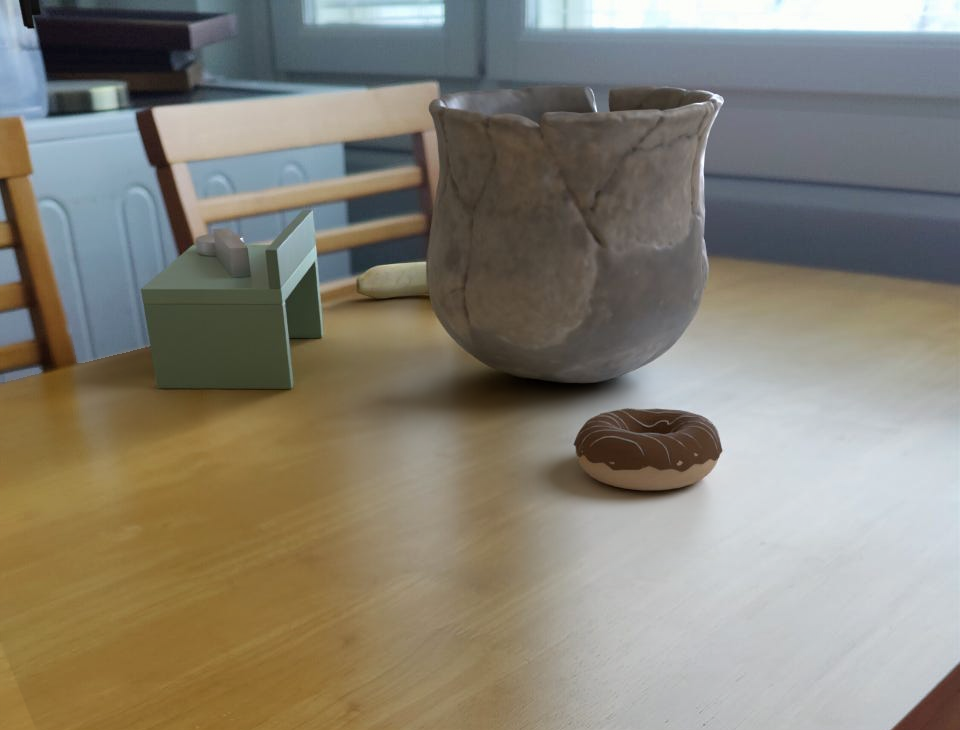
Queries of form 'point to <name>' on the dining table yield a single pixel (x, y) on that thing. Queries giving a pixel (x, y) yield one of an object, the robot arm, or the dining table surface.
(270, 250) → the green toy chair
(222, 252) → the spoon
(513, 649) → the dining table surface
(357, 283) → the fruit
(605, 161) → the pot
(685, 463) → the donut
